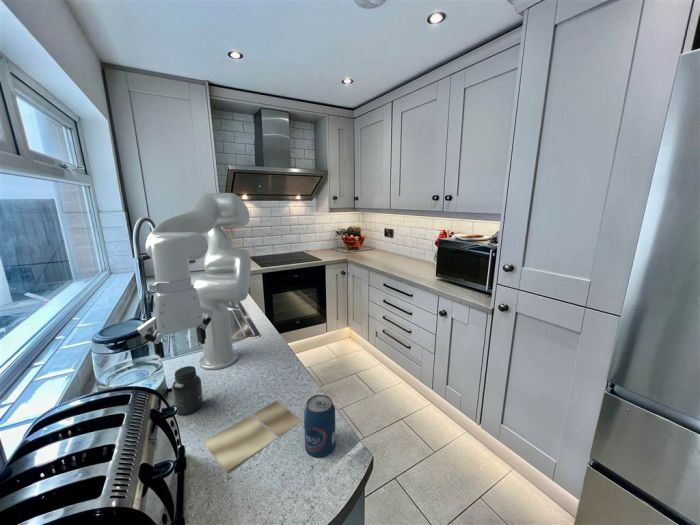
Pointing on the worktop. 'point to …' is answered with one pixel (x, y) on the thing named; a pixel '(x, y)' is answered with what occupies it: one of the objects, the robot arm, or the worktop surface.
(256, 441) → the plank
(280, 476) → the worktop surface
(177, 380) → the supplement bottle
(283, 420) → the laid board
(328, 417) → the soda can
